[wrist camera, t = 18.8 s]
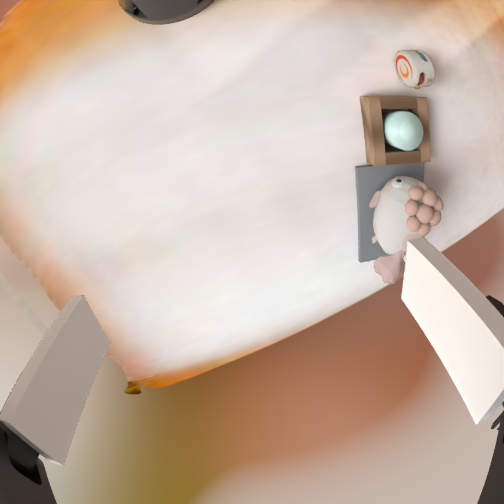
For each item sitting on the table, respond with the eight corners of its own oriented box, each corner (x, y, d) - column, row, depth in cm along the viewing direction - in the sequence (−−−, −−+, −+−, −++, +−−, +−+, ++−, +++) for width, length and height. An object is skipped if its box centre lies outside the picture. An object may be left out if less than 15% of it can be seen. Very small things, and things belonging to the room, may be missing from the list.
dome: (376, 110, 35) (390, 111, 31) (407, 110, 34) (423, 112, 30) (380, 147, 37) (393, 152, 33) (410, 145, 37) (426, 150, 33)
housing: (359, 96, 34) (367, 96, 32) (415, 97, 34) (426, 97, 31) (366, 162, 39) (375, 166, 36) (420, 158, 38) (430, 161, 36)
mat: (355, 166, 39) (356, 168, 39) (420, 160, 39) (423, 161, 38) (358, 260, 47) (360, 262, 46) (417, 248, 46) (419, 250, 45)
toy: (426, 183, 40) (462, 204, 31) (389, 263, 46) (415, 296, 37) (378, 160, 38) (412, 176, 29) (341, 249, 45) (362, 284, 36)
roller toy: (411, 51, 30) (431, 46, 25) (421, 88, 33) (443, 88, 28) (388, 52, 31) (407, 46, 26) (399, 90, 34) (420, 90, 28)
